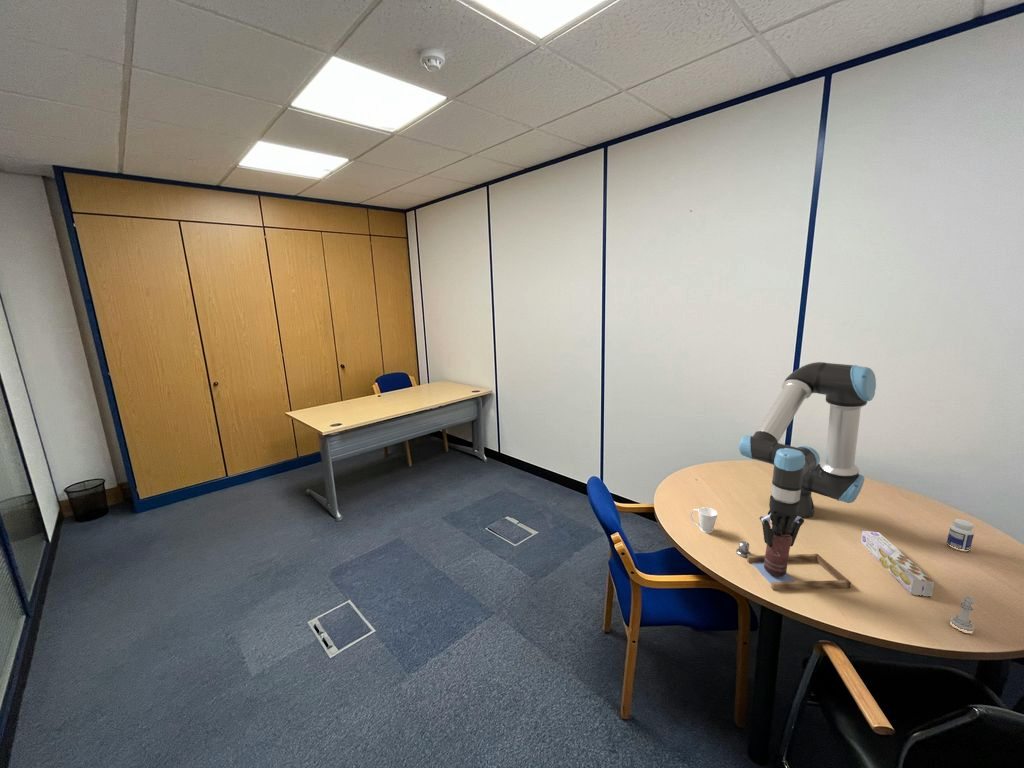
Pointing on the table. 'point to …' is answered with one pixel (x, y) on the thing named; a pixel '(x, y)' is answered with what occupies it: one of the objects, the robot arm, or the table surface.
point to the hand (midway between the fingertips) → (775, 564)
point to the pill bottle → (961, 534)
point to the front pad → (769, 576)
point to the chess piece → (964, 615)
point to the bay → (838, 583)
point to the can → (778, 554)
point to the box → (897, 564)
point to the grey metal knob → (743, 549)
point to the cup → (705, 519)
